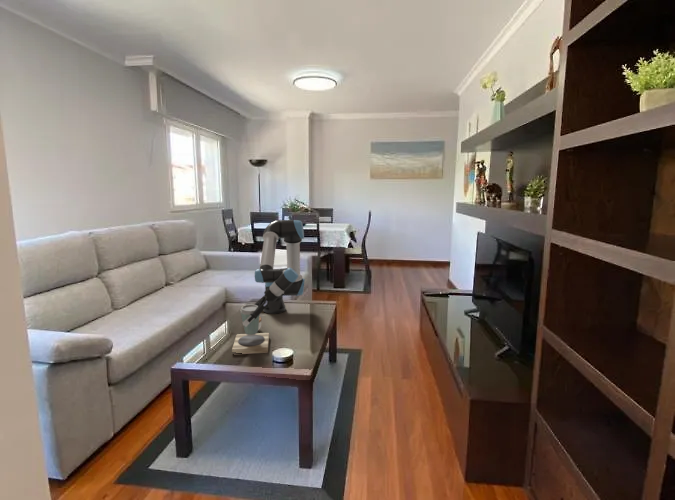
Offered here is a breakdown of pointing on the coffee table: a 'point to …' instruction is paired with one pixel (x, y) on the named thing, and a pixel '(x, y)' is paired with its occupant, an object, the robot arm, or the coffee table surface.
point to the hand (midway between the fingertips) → (245, 320)
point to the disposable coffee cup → (245, 313)
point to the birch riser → (251, 343)
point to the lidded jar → (259, 323)
